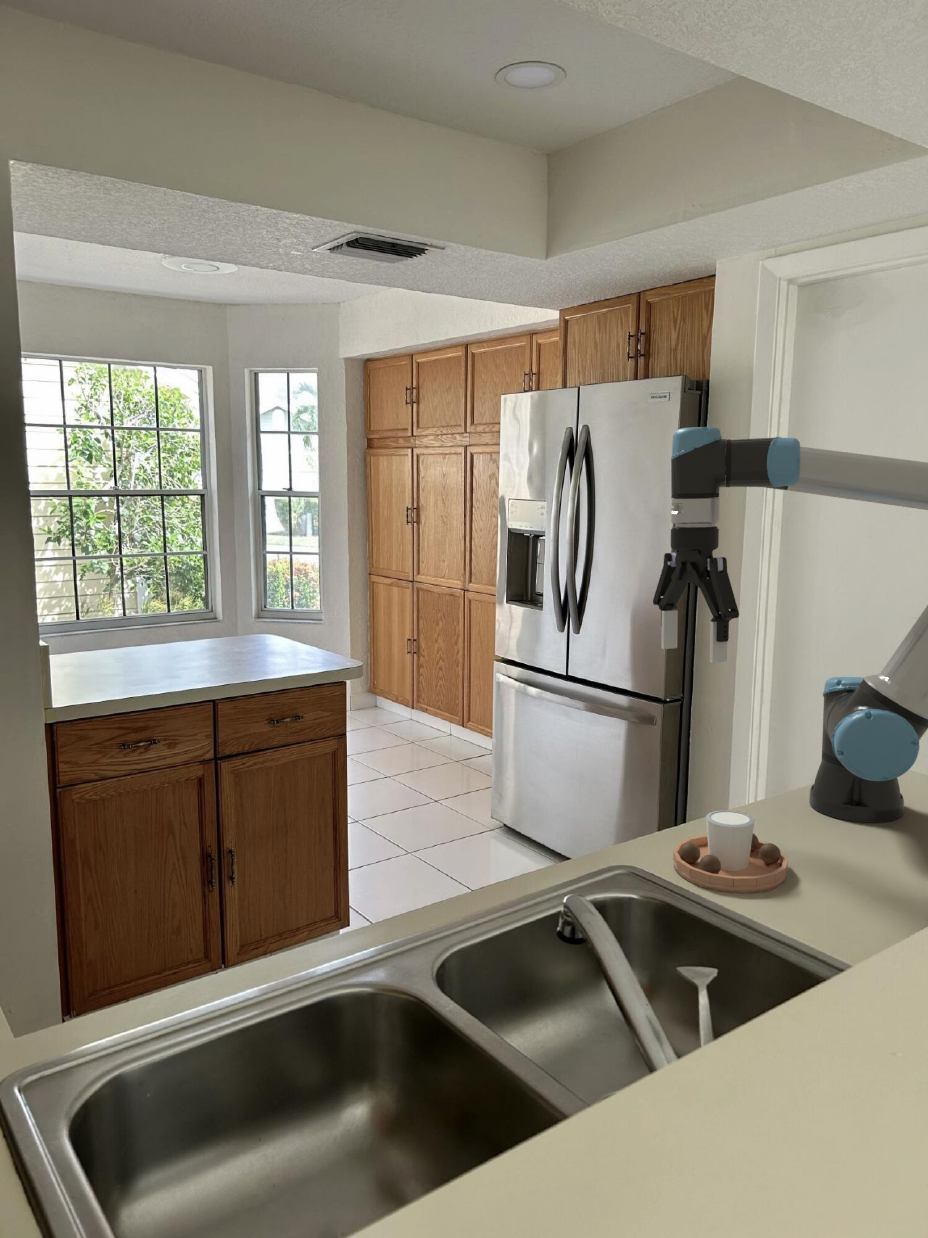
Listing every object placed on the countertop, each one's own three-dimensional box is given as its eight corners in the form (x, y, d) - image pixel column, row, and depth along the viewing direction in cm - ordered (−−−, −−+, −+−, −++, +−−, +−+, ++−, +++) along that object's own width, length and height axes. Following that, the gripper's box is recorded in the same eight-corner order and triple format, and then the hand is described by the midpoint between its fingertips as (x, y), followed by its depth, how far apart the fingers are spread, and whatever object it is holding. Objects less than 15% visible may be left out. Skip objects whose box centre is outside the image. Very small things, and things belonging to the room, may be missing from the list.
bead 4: (771, 857, 136) (771, 838, 136) (784, 865, 134) (785, 845, 133) (754, 861, 135) (755, 842, 135) (768, 869, 132) (768, 849, 132)
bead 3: (749, 846, 141) (750, 827, 140) (762, 853, 138) (763, 834, 138) (733, 849, 140) (734, 830, 139) (746, 856, 137) (746, 837, 137)
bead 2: (712, 869, 133) (712, 850, 132) (725, 877, 130) (725, 857, 129) (694, 873, 132) (695, 853, 131) (707, 881, 129) (707, 861, 128)
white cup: (755, 874, 131) (756, 827, 130) (706, 871, 132) (707, 825, 131) (750, 855, 137) (751, 810, 136) (703, 852, 139) (704, 808, 138)
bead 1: (692, 857, 137) (692, 838, 137) (704, 864, 134) (704, 845, 134) (675, 860, 136) (675, 841, 136) (687, 868, 133) (687, 848, 133)
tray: (739, 841, 145) (739, 828, 145) (811, 881, 130) (811, 866, 130) (653, 858, 140) (653, 844, 139) (717, 901, 125) (717, 886, 124)
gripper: (633, 523, 157) (632, 644, 160) (723, 528, 134) (720, 670, 137) (670, 522, 160) (669, 641, 163) (765, 526, 137) (761, 665, 140)
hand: (692, 654), depth 150 cm, fingers open, 13 cm apart
